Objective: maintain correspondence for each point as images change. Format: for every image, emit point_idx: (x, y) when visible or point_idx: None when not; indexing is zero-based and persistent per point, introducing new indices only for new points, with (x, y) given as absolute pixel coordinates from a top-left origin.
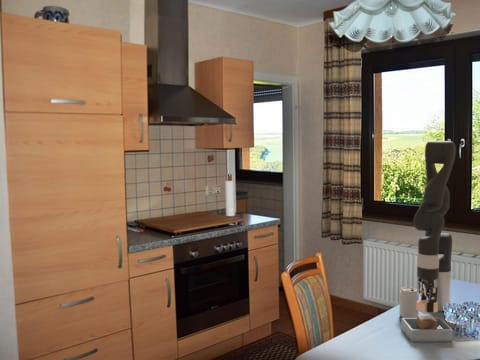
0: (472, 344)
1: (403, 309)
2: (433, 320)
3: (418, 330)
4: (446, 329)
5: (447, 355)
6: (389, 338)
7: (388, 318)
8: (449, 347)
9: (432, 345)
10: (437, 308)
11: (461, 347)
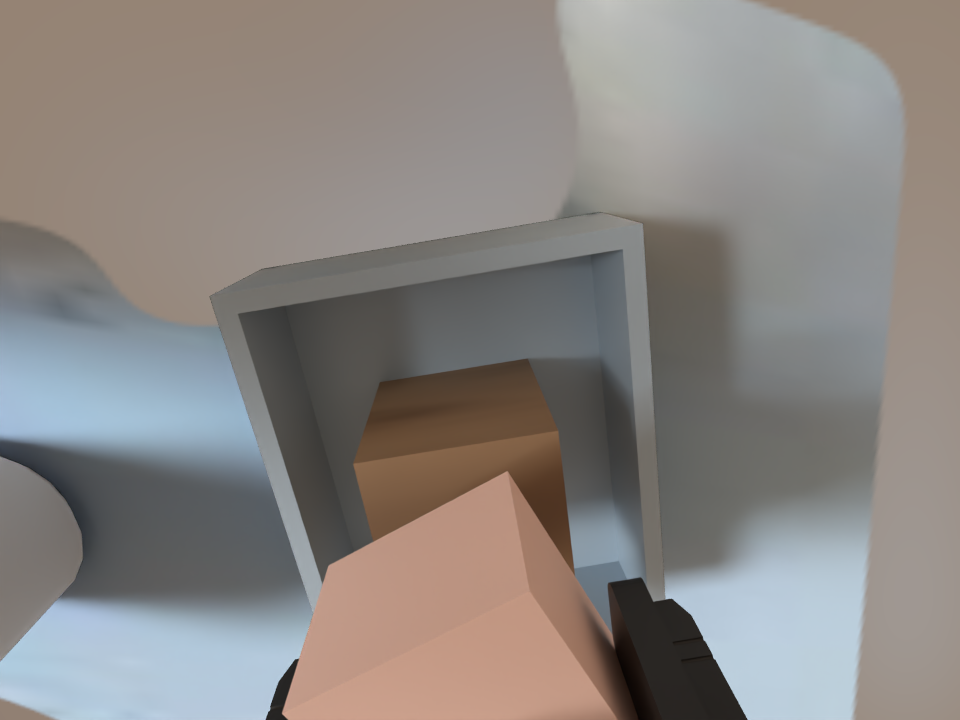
0: (645, 2)
1: (9, 650)
2: (539, 469)
3: (663, 587)
4: (626, 305)
5: (887, 330)
6: None
7: (122, 679)
8: (726, 276)
9: (686, 415)
10: (520, 514)
11: (725, 156)
